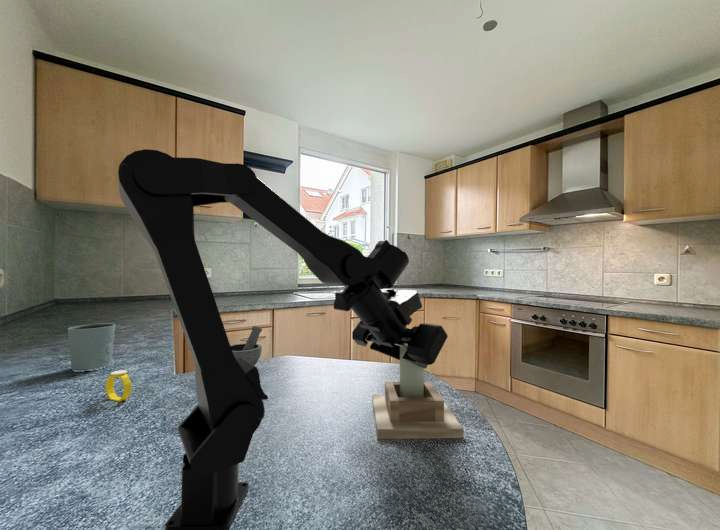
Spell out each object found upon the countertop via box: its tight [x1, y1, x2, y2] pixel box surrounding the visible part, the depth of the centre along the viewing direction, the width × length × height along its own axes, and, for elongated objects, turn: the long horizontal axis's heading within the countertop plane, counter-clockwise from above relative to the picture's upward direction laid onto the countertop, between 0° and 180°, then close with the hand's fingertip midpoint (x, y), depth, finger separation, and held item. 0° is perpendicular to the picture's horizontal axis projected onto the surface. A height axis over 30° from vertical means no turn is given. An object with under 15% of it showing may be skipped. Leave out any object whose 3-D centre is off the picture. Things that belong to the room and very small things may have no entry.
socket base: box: [371, 381, 464, 440], centre depth 55 cm, size 14×14×5 cm
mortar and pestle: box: [230, 325, 263, 366], centre depth 81 cm, size 11×9×12 cm
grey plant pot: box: [67, 322, 116, 370], centre depth 85 cm, size 10×10×12 cm
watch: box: [105, 369, 132, 403], centre depth 63 cm, size 6×3×6 cm, turn 71°
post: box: [399, 327, 425, 397], centre depth 55 cm, size 4×4×13 cm
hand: (416, 363), depth 56 cm, fingers closed on post, 4 cm apart
